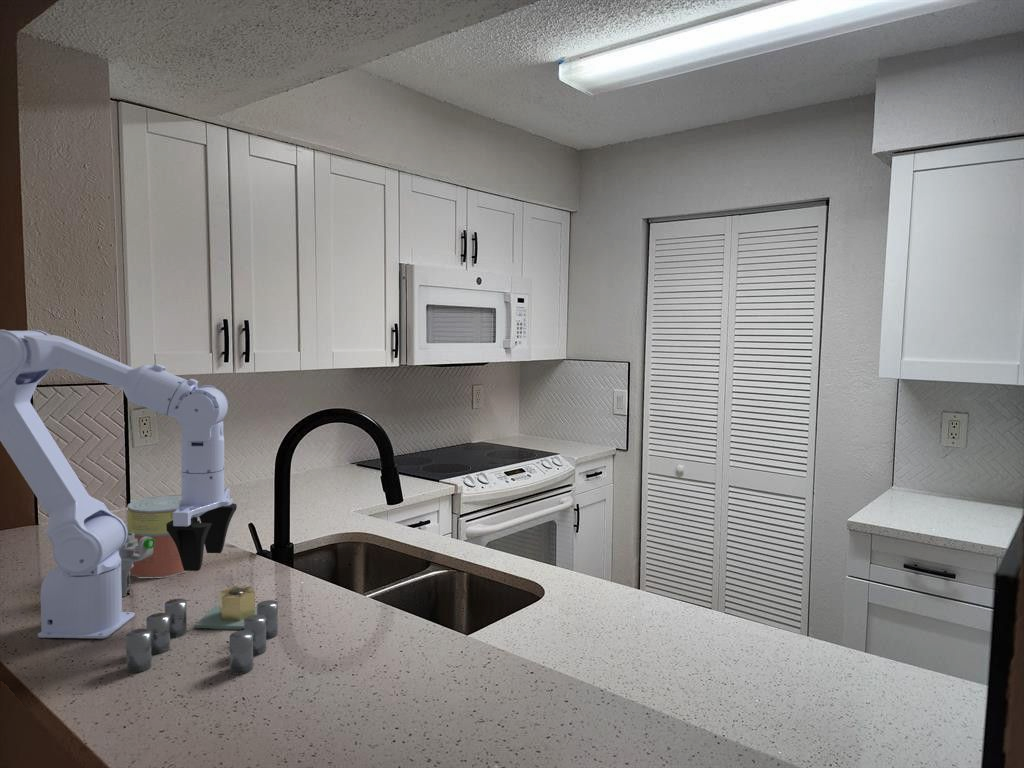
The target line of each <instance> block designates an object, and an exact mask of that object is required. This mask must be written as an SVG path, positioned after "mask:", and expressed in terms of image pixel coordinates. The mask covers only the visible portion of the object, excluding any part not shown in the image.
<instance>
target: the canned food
mask: <svg viewBox="0 0 1024 768" xmlns="http://www.w3.org/2000/svg"><path fill="white" fill-rule="evenodd" d="M181 500H182V494H181V495H180V494H179V495H175V494H174V495H172V494H171V495H158V496H151V497H144V498H140V499H137V500H134V501H131V502H130V503H128V504H127V506H126V508H127V531H128V532H132V533H134V537H135V539H138V543H139V541H140V539H141V538H143V537H145V536H147V537H151V538H152V539H154V540H155V545H154V547H153V554H152V555H151V556H149V557H147V558H145V559H142V560H140V561H138V562H133V565H134V566H133V568H131V569H130V576H131V575H132V576H131V577H133V576H136V577H153V578H154V577H166V576H171V575H177V574H180V573H184V572H187V571H184V569H183V566H182V562H181V559H180V555H179V552H178V549H177V547H176V544H175V542H174V540H173V539H172V537H171V536H170V534H169V533H168V532H167V530H166V524H167V523H168V522H170V521H172V520H173V512H175V511H176V510H177V509H178V506H179V503H180V501H181ZM135 553H136V554H139V552H138V551H135ZM187 573H188V572H187ZM184 574H185V573H184ZM177 576H178V575H177ZM136 577H135V578H136Z"/></svg>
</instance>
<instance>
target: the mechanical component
mask: <svg viewBox="0 0 1024 768" xmlns="http://www.w3.org/2000/svg"><path fill="white" fill-rule="evenodd" d="M154 545H155V540H154V539H152V538H151V537H147V536H145V537H143V538H141V539H140V541H139V543H138V539H135V537H134V533H132V532H128V535H127V540H126V542H125V544H124V545H123V547H122V548H121V549H119V555H120V558H121V585H122V596H125V595H126V596H127V595H128V594H127V593H130V594H131V575H130V569H131V568H133V566H134V565H133V562H138V561H140V560H142V559H145V558H147V557H149V556H151V555H152V554H153V547H154ZM135 551H138V552H139V554H136V553H135ZM126 596H125V597H126Z"/></svg>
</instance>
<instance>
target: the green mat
mask: <svg viewBox="0 0 1024 768" xmlns="http://www.w3.org/2000/svg"><path fill="white" fill-rule="evenodd" d="M255 615H257V606H255ZM195 628H212V629H211V630H241V629H244V619H243V620H241V621H222V619H221V617H220V615H219V605H214V606H213V607H212V608H211V609H210V610H209V611H208V612H207V613H206V614H205V615H204V616H203V617H202V618H201V619H200V620H199V621H197V623H196V624H194V629H195ZM213 628H214V629H213Z"/></svg>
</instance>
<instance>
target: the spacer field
mask: <svg viewBox="0 0 1024 768" xmlns="http://www.w3.org/2000/svg"><path fill="white" fill-rule="evenodd" d="M187 604H188V603H187V600H186V599H185V598H174V599H169V600H167V601H165V603H164V612H159V613H158V612H157V613H154V614H151V615H148V616H147V617H146V628H138V629H137V628H136V629H135V630H132V631H129V632H128V633H126V636H125V640H126V641H125V642H126V643H125V645H126V646H125V649H126V651H125V652H126V672H127V673H131V674H139V673H143V672H146V671H147V670H149V669H151V668H152V666H153V665H152V658H153V657H152V655H159V654H158V653H160V654H163V652H164V653H165V652H168V651H169V650H170V649H171V638H177V637H176V636H179V637H181V636H180V635H182V636H184V635H186V634H187V631H188V627H187V625H188V620H187V619H188V616H187V615H188V613H187V612H188V611H187V609H188V608H187V607H188V605H187ZM256 607H257V615H251V616H248V617H246V618H245V619H244V630H236V631H235V632H232V633H231V634H230V635H229V672H230V674H232V673H234V674H233V675H241V674H240V673H244V674H246V673H245V672H247V673H249V671H250V670H251V671H252V670H253V669H254V656H253V655H255V656H260V655H263V654H264V653H265V652H266V651H267V640H268V639H273V638H275V637H277V636H278V634H279V602H278V601H277V600H272V599H267V600H262V601H260V602H257V604H256ZM185 633H186V634H185ZM183 634H184V635H183ZM151 653H152V654H151ZM259 654H260V655H259ZM151 665H152V666H151ZM251 671H250V672H251ZM235 673H236V674H235ZM237 673H238V674H237Z"/></svg>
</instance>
